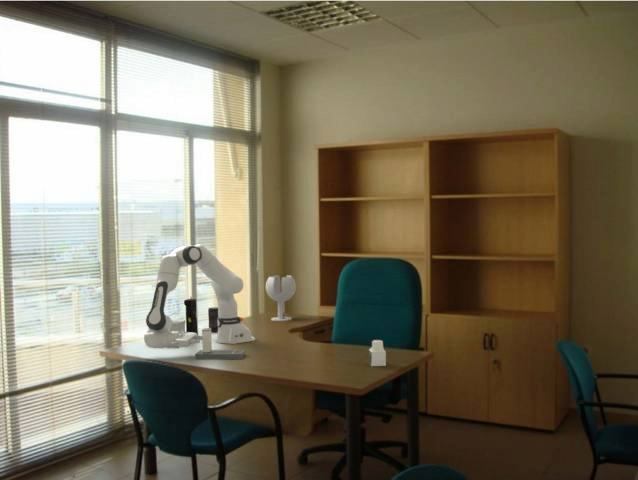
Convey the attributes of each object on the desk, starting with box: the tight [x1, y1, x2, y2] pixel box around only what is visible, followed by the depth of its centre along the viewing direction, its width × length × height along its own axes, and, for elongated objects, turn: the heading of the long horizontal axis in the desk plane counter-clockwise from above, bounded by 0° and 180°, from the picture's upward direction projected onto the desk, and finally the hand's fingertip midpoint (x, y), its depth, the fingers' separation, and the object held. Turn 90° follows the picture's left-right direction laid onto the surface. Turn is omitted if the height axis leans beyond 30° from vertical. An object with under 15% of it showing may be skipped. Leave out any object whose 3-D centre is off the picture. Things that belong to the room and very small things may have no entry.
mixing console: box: [194, 349, 246, 360], centre depth 353 cm, size 24×11×3 cm, turn 86°
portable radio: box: [183, 297, 199, 335], centre depth 410 cm, size 8×6×25 cm
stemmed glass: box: [265, 274, 297, 322], centre depth 470 cm, size 20×20×30 cm
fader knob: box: [201, 327, 213, 352], centre depth 354 cm, size 4×5×12 cm
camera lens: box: [207, 306, 218, 333], centre depth 427 cm, size 8×8×15 cm
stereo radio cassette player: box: [167, 309, 186, 332], centre depth 393 cm, size 21×8×20 cm, turn 68°
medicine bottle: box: [368, 338, 387, 367], centre depth 330 cm, size 7×7×12 cm
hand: (201, 339), depth 354 cm, fingers open, 8 cm apart
